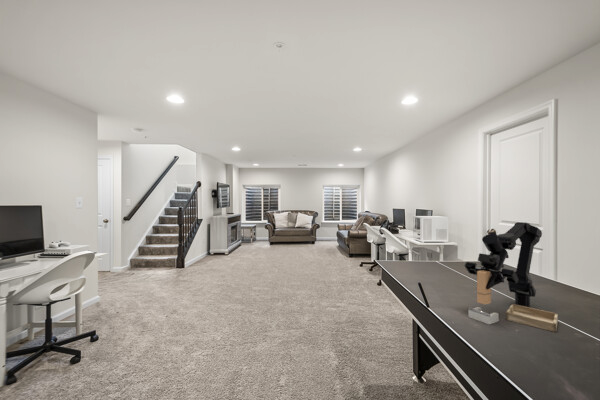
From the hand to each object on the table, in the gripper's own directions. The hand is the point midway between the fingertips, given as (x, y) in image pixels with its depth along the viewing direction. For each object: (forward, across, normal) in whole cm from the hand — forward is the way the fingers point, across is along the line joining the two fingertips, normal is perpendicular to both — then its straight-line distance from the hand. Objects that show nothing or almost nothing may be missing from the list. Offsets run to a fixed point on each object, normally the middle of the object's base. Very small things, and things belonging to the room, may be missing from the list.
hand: (482, 287), depth 110 cm
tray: (-3, +10, +22) cm, 24 cm away
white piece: (+8, 0, +10) cm, 14 cm away
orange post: (+4, 0, +6) cm, 7 cm away
